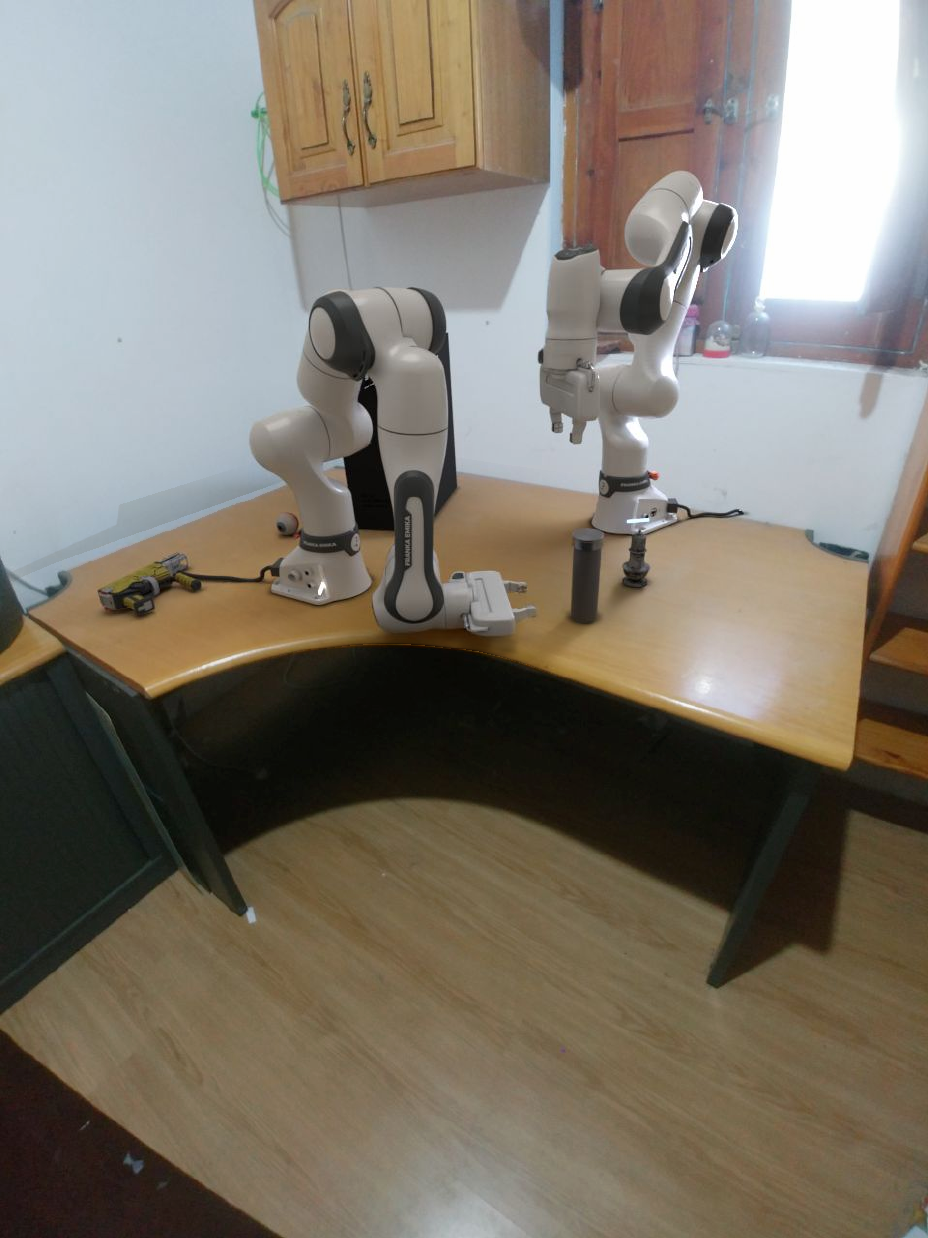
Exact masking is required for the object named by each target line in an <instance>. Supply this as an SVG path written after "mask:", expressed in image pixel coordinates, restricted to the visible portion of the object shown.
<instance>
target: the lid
mask: <svg viewBox="0 0 928 1238" xmlns="http://www.w3.org/2000/svg"><path fill="white" fill-rule="evenodd" d="M571 541H572V542H571V546H572V548H573V547H574V548H576V549H578V550H582V551H595V550H599V549H601V548H602V549H603V547H604V545H605V544H604V543H605V533H604V531H602V530H599V529H597V528H580V529H576V530H574V531H573V532H572V536H571Z"/></svg>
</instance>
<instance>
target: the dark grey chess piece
mask: <svg viewBox="0 0 928 1238" xmlns="http://www.w3.org/2000/svg"><path fill="white" fill-rule="evenodd" d="M646 543H647V535H646V534H643V533H641V530H640V529H639V531H638V533H635V534H634V535H633V534H632V536H631V544H630V547H629V548H628V551H629V559H628V560H627V561H625V562H623V563H622V564H621V568H622V571H623V574H624V575H625V576H624V577H623V578H622V580H621V582H622V584H624V585H625V586H628V587H632V588H641V587H644V586H647V584H648V580H647V579H646V577H647V576H648V573H649V571H650V570H651V565H650V564H649V563H648V562H646V561H645V558H646V557H645V555H646V552H648V551H647V550H648V549H647V548H646Z"/></svg>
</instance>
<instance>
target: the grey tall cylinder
mask: <svg viewBox="0 0 928 1238" xmlns="http://www.w3.org/2000/svg"><path fill="white" fill-rule="evenodd" d="M572 548H573V549H572V550H573V551H572V569H571V570H572V572H571V573H572V574H571V596H570V597H571V598H570V619H571V620H572V621H574V622H576V623H579V624H591V623H594V622H595V621H596V620H597V619H598V609H599V593H600V582H601V581H600V579H601V564H602V563H601V562H602V549H603V547H602V548H601V549H599V550H595V551H582V550H578V549H576V548H574V547H573V546H572Z"/></svg>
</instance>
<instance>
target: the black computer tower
mask: <svg viewBox="0 0 928 1238" xmlns="http://www.w3.org/2000/svg"><path fill="white" fill-rule="evenodd" d="M435 355H436V356H437V357H438V358H439V359H440V361H441V363H442V365H443V368H444V374H445V380H446V388H447V400H448V435H447V445H446V452H445V458H444V464H443V469H442V473H441V478H440V483H439V488H438V494H437V499H436V505H435V512H434V518H436V516H437V515H438V513H439V512H440V511H441V510H442V508H443V507H444V505H445V504H446V503H447V501H448V500H449V499H450V498H451V496H452V495H453V493H454V492H455V491H456V489H457V488H458V478H457V477H458V475H457V459H456V441H455V424H454V407H453V391H452V390H453V389H452V388H453V387H452V375H451V373H452V372H451V358H450V357H451V356H450V355H451V354H450V341H449V332H446V336H445V340H444V343H443V345H442V347H441V349H440V350H439V351H438V352H437V353H436V354H435ZM358 403H360V404H361V405H362V406H363V407H364V408H365V409H366V410H367V412H368V413H369V415H370V418H371V421H372V425H373V434H372V438H371V441H370V443H369V445H368V446H366V447H365V448H363V449H361V450H359V451H358V452H356V453H354V454H352V455H350V456H346V457H343V458H342V460H343V466H344V472H345V478H346V486H347V488H348V489H349V491H350V493H351V498H352V504H353V511H354V518H355V522H356V523H357V525H358V529H360V530H361V529H362V530H363V529H364V530H366V529H367V530H389V531H394V514H393V508H392V502H391V497H390V493H389V489H388V485H387V480H386V476H385V472H384V468H383V463H382V459H381V453H380V447H379V439H378V418H377V410H378V398H377V390H376V387H375V384H374V383H373V381H372V379H371V378H370V377H369V376H368V375H367V374H366V375H365V377H364V378H363V380H362V383H361V387H360V390H359V394H358Z"/></svg>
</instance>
